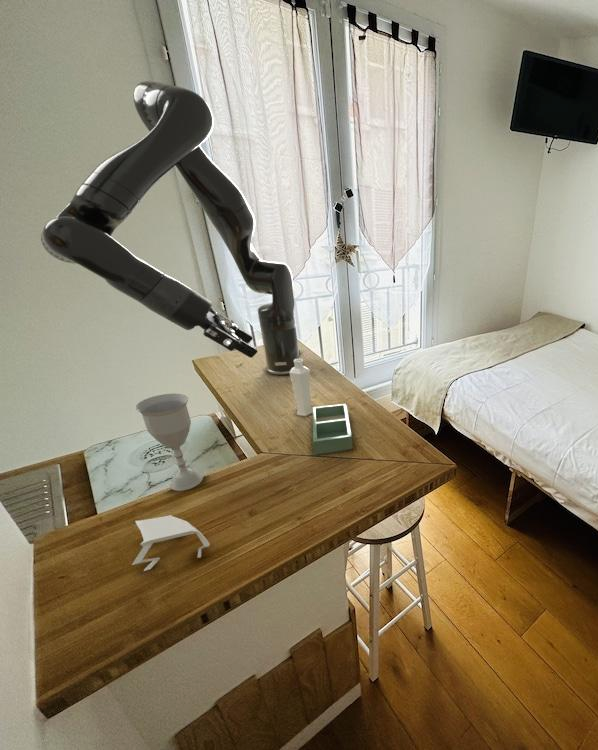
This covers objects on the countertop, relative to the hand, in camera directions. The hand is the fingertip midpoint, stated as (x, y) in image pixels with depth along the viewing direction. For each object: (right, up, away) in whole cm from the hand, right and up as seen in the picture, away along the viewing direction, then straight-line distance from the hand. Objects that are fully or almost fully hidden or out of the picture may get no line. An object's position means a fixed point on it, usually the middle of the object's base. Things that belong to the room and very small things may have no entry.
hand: (252, 347), depth 90 cm
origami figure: (+4, -35, -26) cm, 44 cm away
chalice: (-5, -28, -13) cm, 31 cm away
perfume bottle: (+5, -16, +14) cm, 22 cm away
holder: (+16, -21, +6) cm, 27 cm away
